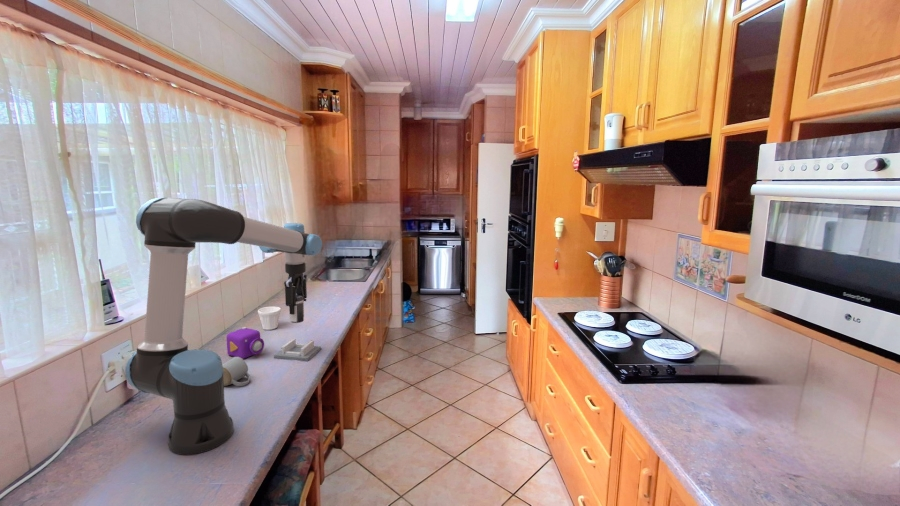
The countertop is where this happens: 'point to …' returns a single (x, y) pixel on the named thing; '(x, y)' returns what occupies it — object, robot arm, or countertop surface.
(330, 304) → the countertop surface
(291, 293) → the robot arm
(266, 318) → the cup
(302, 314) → the lens
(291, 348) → the mount
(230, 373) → the ceramic mug
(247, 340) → the toy camera
